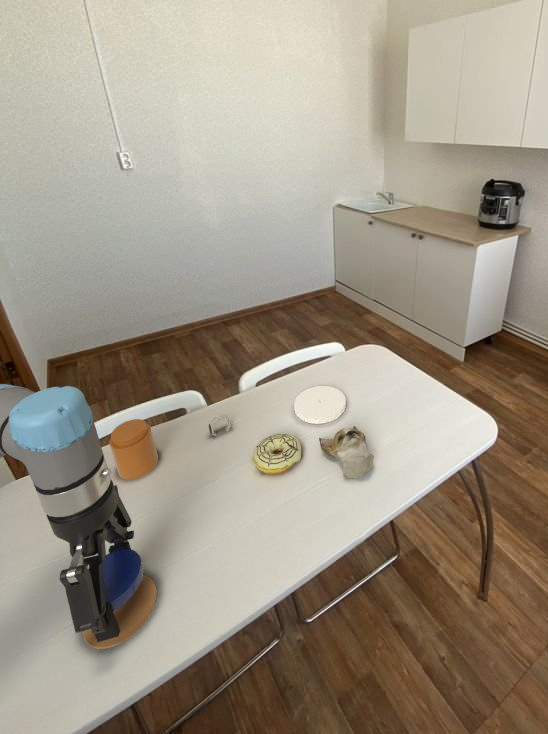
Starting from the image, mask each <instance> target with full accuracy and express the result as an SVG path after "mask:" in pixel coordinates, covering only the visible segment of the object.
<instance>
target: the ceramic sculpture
mask: <svg viewBox="0 0 548 734" xmlns="http://www.w3.org/2000/svg"><path fill="white" fill-rule="evenodd" d="M318 440H319V446H320V448H321V450H322V451H323V453H324V454H326V455H328V456H331V457H333V458H336V460H337V461H338V462H339V463H340V465H341V471H342V473H343V474H344V476H345V477H346V478H348V479H360V478H362V477H364V476H365V474H367V473H368V472H369V471H370V470H371V469H372V466H373V464H374V457H375V456H374V454H372V452H371V451H369V449H368V446H367V443H366V435H365V433H363V432H361V431H360V430H358V428H357V427H356V426H355V425H353V427H345V428H342V429H339V430H338V431H337V432H336V433H335V435H334V436H333V439H332V438H326V439H325V438H322V437H319V438H318Z"/></svg>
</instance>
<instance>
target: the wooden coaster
mask: <svg viewBox="0 0 548 734" xmlns="http://www.w3.org/2000/svg"><path fill="white" fill-rule="evenodd" d="M157 596H158V591H157V586H156V583H155V581H154V580H153V579H152V578H151V577H150V576H148V575H147V574H146V575H145V574H143V577H142V580H141V583H140V585H139V587H138V589H137V590H136V592H135V593H134V594H133V595H132V597H131V598H130V599H129V600H128V601H127V602H126V603H124V604H123V605H122V606H121V607H119V608H118V609H116V610H114V611H113V612H114V615H115V618H116V620H117V623H118V626H119V628H120V633H119V636H118V637H115V638H111V639H108V640H104V641H100V642H97V639H96V637H95V635H94V634H93V633H92V630H91V629H89V630H86V631H82V635H83V638H84V640H85V642H86V644H87V645H89V646H90V647H91V648H93V649H99V650H103V649H109V648H113V647H115V646H118V645H120V644H122V643H123V642H126V640H129V639H130V638H132V636H133V635H135V634H136V633H137V632H138V631H139V630H140V629H141V628H142V627H143V625H144V624H145V623H146V621H147V620H148V619H149V617H150V615H151V614H152V611H153V610H154V607H155V605H156V601H157Z"/></svg>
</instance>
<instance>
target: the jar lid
mask: <svg viewBox="0 0 548 734" xmlns="http://www.w3.org/2000/svg"><path fill="white" fill-rule="evenodd" d="M143 575H144V564H143V562H142V559H141V556H140V554H139V553H138V552H137V551H136V550H134V549H132V548H131V549H121V550H117V551H113V552H111V553H109V552H108V553H106V557H105V559H104V560H103V576H104V589H105V603H107V602H110V604H111V607H112V610H113V611H114V610H116V609H118V608H119V607H121V606H122V605H123V604H124V603H126V602H127V601H128V600H129V599H130V598H131V597H132V595H133V594H134V593H135V592H136V590H137V589H138V587H139V585H140V583H141V580H142V577H143Z"/></svg>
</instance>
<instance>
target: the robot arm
mask: <svg viewBox="0 0 548 734" xmlns="http://www.w3.org/2000/svg"><path fill="white" fill-rule="evenodd" d="M91 409H92V408H91V406H90V405H89V404H88V402H87V399H86V397H85V394H84V392H83V391H81V389H79V388H77V387H75V386H72V385H71V386H70V385H66V386H62V387H61V386H52V387H48V388H44V389H40V390H39V391H36V392H35V391H34V390H31V389H29V388H27V387H22V386H17V385H12V384H8V383H7V384H6V383H0V459H1V458H2V457H5V456H7V457H10V458H13V459H15V460H18V461H19V462H21V463H22V464H23V465H24V466H25V468H26V470H27V472H28V475H29V477H30V479H31V481H32V484H33V487H34V488H35V492H36V494H37V497H38V500H39V503H40V505H41V507H42V510H43V512H44V513H45V514H46V518H47V520H48V523H49V526H50V528H51V531H52V532H53V535H54V536H55V537H56V538H58V539H60V540H62V541H65V542H67V543H68V544H69V554H70V556H71V561H70V564H69V567H68V568H64V569H61V571H60V573H59V581H60V583H61V584H62V585H63V587H64V590H65V593H66V598H67V603H68V607H69V611H70V615H71V619H72V624H73V628H74V632H75V634H78V633H83V631H86V630H89V629H91V630H92V633H93V634H94V635H95V637H96V639H97V642H100V641H104V640H108V639H111V638H115V637H118V636H119V633H120V628H119V626H118V623H117V620H116V618H115V615H114V612H113V610H112V607H111V604H110V602H107V603H105V589H104V576H103V560H104V559H105V557H106V555H107V550H106V542H107V543H109V544H110V545H109V548H108V554H109V553H111V552H113V551H117V550H121V549H131V550H132V547H131V545H130V540H133V539H134V537H135V531H134V529H133V530H128V528H130V527H131V525H132V523H133V522H132V518H131V517H130V514H129V512H128V511H127V508H126V506H125V504H124V503H123V501H122V499H121V496H120V493H119V488H118V485H117V484H115V485H114V482H113V480H112V479H111V474H112V469H111V468H110V467H108V465H107V461H106V459H105V453H104V451H103V448H102V444H101V441H100V437H99V434H98V431H97V427H96V424H95V420H94V415H93V411H92V410H91ZM111 544H112V545H111Z"/></svg>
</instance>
